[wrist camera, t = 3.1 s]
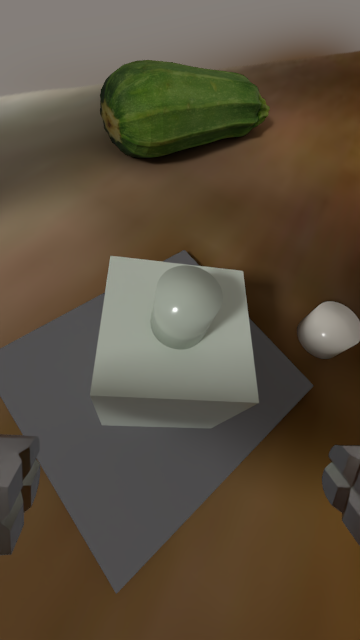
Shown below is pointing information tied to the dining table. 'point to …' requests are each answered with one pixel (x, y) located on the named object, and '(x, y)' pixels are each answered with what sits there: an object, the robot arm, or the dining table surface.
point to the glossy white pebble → (329, 330)
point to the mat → (129, 439)
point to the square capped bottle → (173, 346)
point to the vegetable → (176, 107)
